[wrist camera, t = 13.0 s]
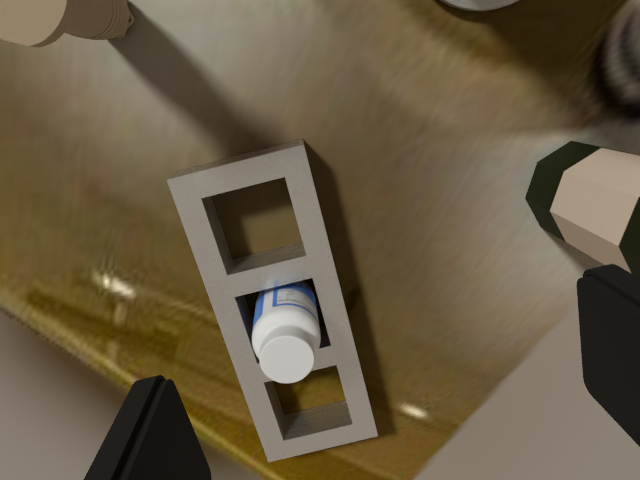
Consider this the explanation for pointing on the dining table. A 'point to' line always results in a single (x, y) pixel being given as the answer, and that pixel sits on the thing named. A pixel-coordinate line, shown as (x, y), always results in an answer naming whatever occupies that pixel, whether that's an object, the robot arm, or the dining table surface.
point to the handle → (62, 20)
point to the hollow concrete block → (267, 272)
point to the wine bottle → (591, 202)
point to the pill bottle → (286, 331)
